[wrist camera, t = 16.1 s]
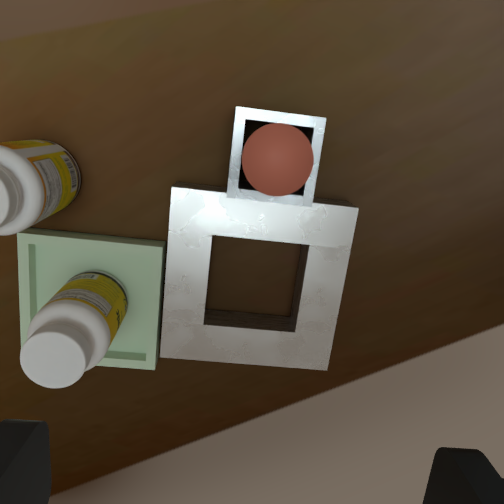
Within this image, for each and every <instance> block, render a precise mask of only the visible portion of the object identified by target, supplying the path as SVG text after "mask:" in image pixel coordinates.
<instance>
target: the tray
mask: <svg viewBox="0 0 504 504" xmlns="http://www.w3.org/2000/svg"><path fill="white" fill-rule="evenodd" d="M17 244H18V272H19V301H20V330H21V349H22V347H23V345H24V343H25V342H26V341H27V333H28V328H29V325H30V323H31V321H32V319H33V317H34V316H35V315H36V314H37V313H38V311H39V310H40V309H41V308H42V307H43V306H44V305H45V304H46V303H47V302H48V301H49V300H50V299H51V298H52V297H53V296H54V295H55V294H56V293H57V292H58V291H59V290H60V289H61V288H62V287H63V286H64V285H65V284H66V282H68V281H69V280H70V279H71V278H72V277H73V276H75V275H77V274H79V273H81V272H84V271H89V270H97V271H103V272H106V273H108V274H110V275H112V276H114V277H115V278H116V279H118V280H119V281H120V282H121V284H122V285H123V286H124V288H125V290H126V292H127V295H128V309H127V312H126V315H125V317H124V319H123V321H122V323H121V325H120V327H119V329H118V331H117V333H116V335H115V337H114V339H113V341H112V343H111V345H110V347H109V349H108V351H107V353H106V354H105V356H104V357H103V359H102V360H101V361H100V362H99V363H98V364H97V365H96V366H109V367H122V368H135V369H148V370H155V368H156V364H157V361H158V353H159V338H160V323H161V308H162V293H163V278H164V263H165V249H166V241H158V240H148V239H139V238H129V237H119V236H109V235H100V234H90V233H80V232H70V231H60V230H51V229H41V228H31V227H29V228H27V229H25V230H23V231H21V232H18V233H17Z"/></svg>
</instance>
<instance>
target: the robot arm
mask: <svg viewBox="0 0 504 504" xmlns="http://www.w3.org/2000/svg"><path fill="white" fill-rule="evenodd" d="M50 491H51V466H50V446H49V429H48V425H47V423H46V422H45V421H33V420H17V419H5V420H3V421H2V422H0V504H48V501H49V497H50ZM423 504H504V479H503V478H501V477H500V475H499V474H498V473H497V471H496V470H495V468H494V467H493V466H492V465H491V463H490V462H489V460H488V459H487V458H486V456H485V455H484V454H483V453H482V452H481V451H479V450H477V449H462V448H447V447H441V448H439V449H438V450H437V451H436V453H435V456H434V460H433V464H432V469H431V472H430V476H429V480H428V484H427V488H426V493H425V496H424V500H423Z"/></svg>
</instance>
